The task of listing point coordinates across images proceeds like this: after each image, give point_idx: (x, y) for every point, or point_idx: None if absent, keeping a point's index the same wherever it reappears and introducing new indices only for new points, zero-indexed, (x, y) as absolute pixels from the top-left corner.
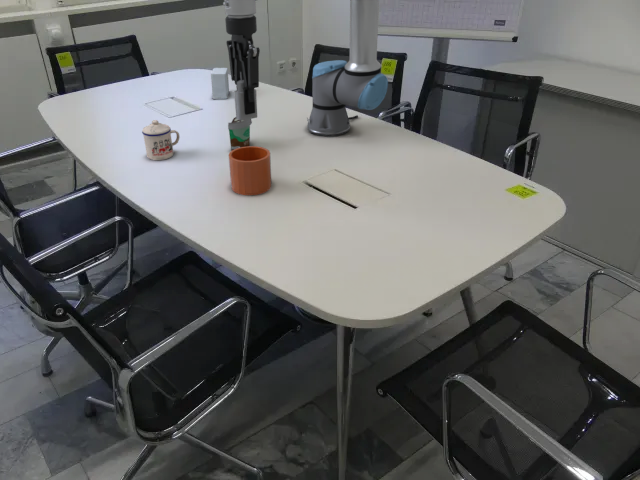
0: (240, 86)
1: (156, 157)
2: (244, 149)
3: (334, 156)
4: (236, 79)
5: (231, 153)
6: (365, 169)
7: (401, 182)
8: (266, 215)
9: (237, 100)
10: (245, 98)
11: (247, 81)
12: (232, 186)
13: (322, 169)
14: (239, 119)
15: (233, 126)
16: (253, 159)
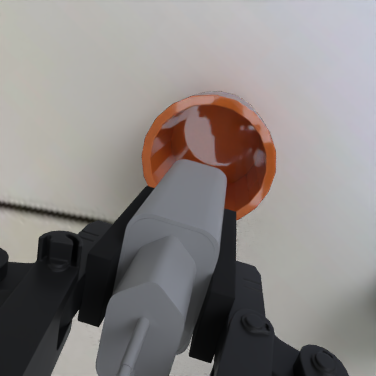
0: (134, 269)
1: None
2: (257, 188)
3: (184, 356)
4: (230, 343)
5: (256, 128)
6: (98, 337)
7: None
8: (78, 58)
9: (172, 194)
10: (115, 223)
11: (9, 303)
12: (233, 94)
13: None
14: (184, 160)
15: None
16: (238, 195)
